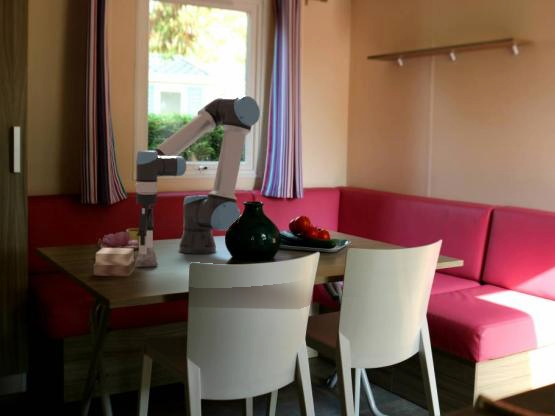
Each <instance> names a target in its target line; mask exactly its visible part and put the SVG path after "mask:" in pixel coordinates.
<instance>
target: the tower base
mask: <svg viewBox="0 0 555 416" xmlns="http://www.w3.org/2000/svg"><path fill="white" fill-rule="evenodd" d="M135 261H136V259H134V260H133V261H132V262H131V263H130V264H129V265H128V266H124V265H96V263H94V264H93V276H106V277H109V276H110V277H113V276H114V277H117V276H118V277H129V276H131V274H132V273H133V272H134V271H135V270H136V262H135Z"/></svg>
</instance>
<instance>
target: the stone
mask: <svg viewBox="0 0 555 416" xmlns="http://www.w3.org/2000/svg"><path fill="white" fill-rule="evenodd" d="M135 265H137V267H138V268H139V267H142V268H143V267H144V268H149V267H153V268H154V267H158V265H159V264H158V261H157V255H156V252H155V250H154V248H150V249H147V254H138V255H137V257H136V259H135Z"/></svg>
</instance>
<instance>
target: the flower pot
mask: <svg viewBox="0 0 555 416" xmlns="http://www.w3.org/2000/svg"><path fill="white" fill-rule="evenodd" d="M138 230H139V227H137V228H127V229H126V231H125V232H130V236H131V237H130V240H129V241H132V240H138V243H137V244H136V245H135V246H138V248H137V249H139V236H137V234H138Z"/></svg>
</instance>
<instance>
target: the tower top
mask: <svg viewBox="0 0 555 416" xmlns="http://www.w3.org/2000/svg"><path fill="white" fill-rule="evenodd" d="M134 251H135V250H134V249H133V248H102V249H101V248H100V249H99V250H98V251H97V252H95V264H96V265H124V266H128V265H129V264H130V263H131V262H132V261H133V260H134V256H135V255H134V254H135V253H134Z"/></svg>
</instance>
